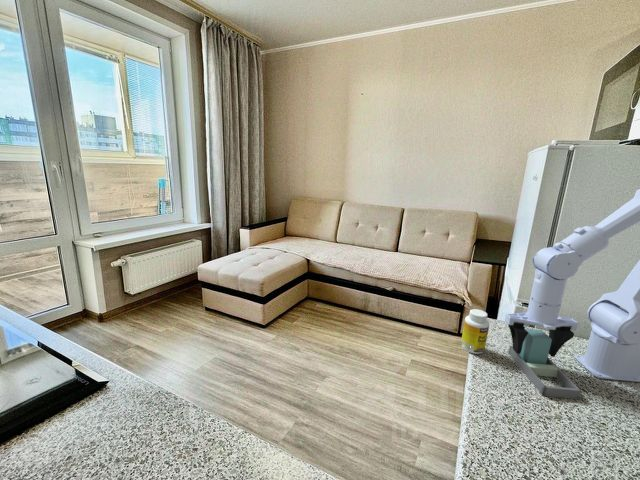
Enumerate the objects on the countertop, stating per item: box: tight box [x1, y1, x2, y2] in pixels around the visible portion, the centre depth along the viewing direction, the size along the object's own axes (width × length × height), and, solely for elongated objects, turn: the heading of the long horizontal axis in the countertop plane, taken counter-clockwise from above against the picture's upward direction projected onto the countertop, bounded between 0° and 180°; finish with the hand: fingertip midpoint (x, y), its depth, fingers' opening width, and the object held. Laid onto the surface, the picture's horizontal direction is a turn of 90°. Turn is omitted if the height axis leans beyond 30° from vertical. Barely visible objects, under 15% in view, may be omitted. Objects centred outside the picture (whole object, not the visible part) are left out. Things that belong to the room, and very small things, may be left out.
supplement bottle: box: [460, 308, 490, 355], centre depth 77 cm, size 6×6×10 cm
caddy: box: [508, 345, 582, 400], centre depth 69 cm, size 7×14×2 cm, turn 174°
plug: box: [519, 328, 552, 365], centre depth 72 cm, size 4×4×8 cm
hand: (533, 352), depth 73 cm, fingers open, 7 cm apart
